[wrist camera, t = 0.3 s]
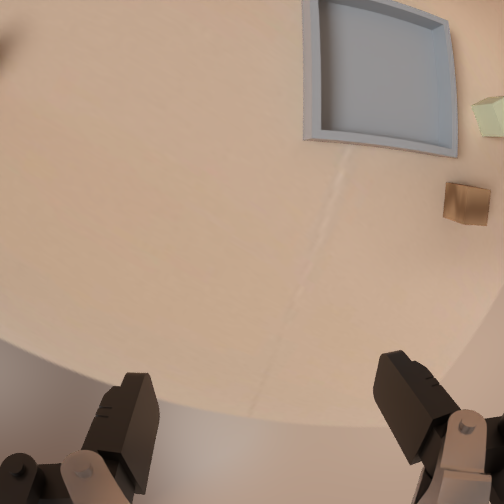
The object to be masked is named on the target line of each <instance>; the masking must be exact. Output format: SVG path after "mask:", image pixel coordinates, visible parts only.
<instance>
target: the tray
mask: <svg viewBox="0 0 504 504" xmlns="http://www.w3.org/2000/svg"><path fill="white" fill-rule="evenodd" d="M302 24H303V87H304V98H303V140H307V141H322V142H334V143H345V144H355V145H364V146H373V147H381V148H389V149H396V150H403V151H409V152H416V153H422V154H428V155H434V156H439V157H452V158H457V151H458V114H457V92H456V78H455V67H454V58H453V50H452V43H451V36H450V30H449V24H448V21H447V20H444V19H442V18H440V17H437V16H435V15H432V14H430V13H427V12H424V11H422V10H419V9H416V8H413V7H410V6H407V5H404V4H401V3H398V2H395V1H392V0H302Z"/></svg>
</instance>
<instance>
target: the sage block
mask: <svg viewBox="0 0 504 504" xmlns="http://www.w3.org/2000/svg"><path fill="white" fill-rule="evenodd" d="M471 107H472V110H473V112H474V115H475V118H476V120H477V123H478V126H479V129H480V132H481V135H482V136H493V137H504V96H498V97H489V98H486V99H484V100H482V101H480V102H478V103H476V104H474V105H472V106H471Z"/></svg>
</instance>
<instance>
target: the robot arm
mask: <svg viewBox="0 0 504 504" xmlns="http://www.w3.org/2000/svg"><path fill="white" fill-rule="evenodd" d="M373 394H374V399H375V402H376V404H377V405H378V407H379V409H380V411H381V413H382V414H383V416H384V418H385V420H386V422H387V423H388V425H389V427H390V429H391V431H392V432H393V434H394V436H395V438H396V440H397V442H398V444H399V445H400V447H401V449H402V451H403V453H404V454H405V457H406V458H407V460H408V462H409V464H410V465H412V464H415V463H418V462H420V461H422V463H423V465H424V467H423V469H422V471H421V474H420V478H419V481H418V484H417V488H416V491H415V494H414V497H413V500H412V503H411V504H489V501H490V502H491V504H504V414H503V415H502V416H500V417H493V418H487V419H484V418H483V416H481V415H480V414H479V413H477V412H475V411H473V410H466V409H464V410H461V409H460V408H459V407H458V405H457V404H456V403H455V402H454V400H453V399H452V398H451V397H450V395H449V394H448V393H447V392H446V390H445V389H444V388H443V387H442V386H441V385H439V382H438V381H437V380H436V378H434V376H433V375H432V374H431V372H430V371H429V370H428V369H427V368H426V367H425V366H423V365H422V364H420V363H418V362H417V361H411V360H410V359H409V358H408V356H407V355H406V354H405V353H404V352H403V351H402V350H399V351H394V352H389V353H384V354H382V355H381V356H380V359H379V363H378V368H377V373H376V377H375V382H374V386H373ZM159 415H160V413H159V405H158V402H157V398H156V395H155V392H154V388H153V385H152V381H151V378H150V375H149V374H148V373H126V375H125V377H124V379H123V382H122V384H121V387H120V386H113V387H112V388H111V389H110V390H109V391H108V392H107V393H106V394H105V395H104V396H103V398H102V401H101V403H100V405H99V409H98V410H97V412H96V417H94V419H93V422H92V424H91V427H90V429H89V431H88V434H87V437H86V439H85V441H84V444H83V446H82V448H81V450H78V451H75V452H73V453H71V454H69V455H68V456H67V457H66V458H65V459H64V460H63V462H62V463H59V464H41V465H38V464H37V463H36V462H35V460H34V459H33V458H32V457H31V456H29V455H27V454H24V453H16V454H12V455H10V456H8V457H7V458H6V459H5V460H4V461H3V463H2V464H1V466H0V504H132V501H133V496H134V493H136V494H143V495H144V494H145V492H146V486H147V481H148V475H149V470H150V464H151V460H152V454H153V449H154V444H155V439H156V434H157V430H158V425H159V417H160V416H159Z"/></svg>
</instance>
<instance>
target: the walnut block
mask: <svg viewBox="0 0 504 504" xmlns="http://www.w3.org/2000/svg"><path fill="white" fill-rule="evenodd" d="M490 193H491V190H486V189H482V188H477V187H473V186H467V185H461V184H454V183H447V182H446V190H445V202H444V211H443V217H445V218H447V219H450V220H453V221H456V222H458V223H461V224H465V225H481V226H487V220H488V212H489V203H490Z"/></svg>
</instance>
